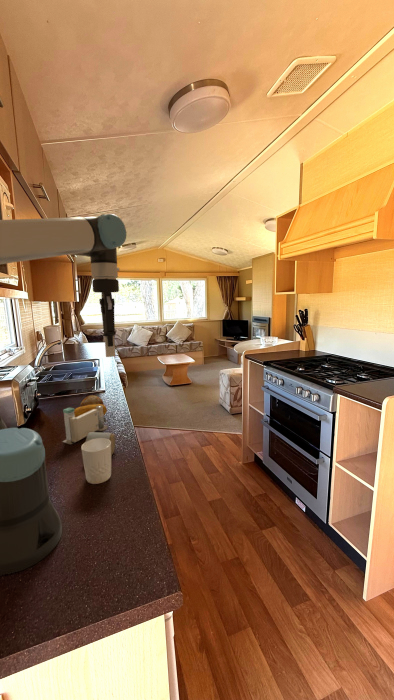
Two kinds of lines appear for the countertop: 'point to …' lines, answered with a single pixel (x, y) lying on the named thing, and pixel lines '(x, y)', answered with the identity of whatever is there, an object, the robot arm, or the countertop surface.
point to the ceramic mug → (102, 435)
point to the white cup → (97, 460)
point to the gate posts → (70, 413)
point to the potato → (88, 409)
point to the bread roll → (91, 401)
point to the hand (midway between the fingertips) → (110, 356)
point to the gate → (83, 425)
